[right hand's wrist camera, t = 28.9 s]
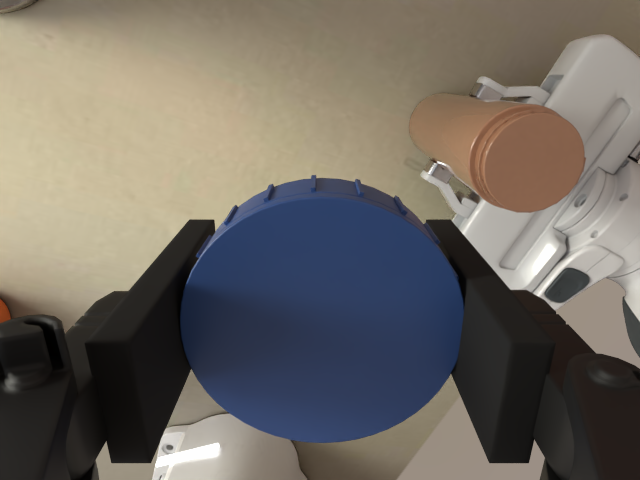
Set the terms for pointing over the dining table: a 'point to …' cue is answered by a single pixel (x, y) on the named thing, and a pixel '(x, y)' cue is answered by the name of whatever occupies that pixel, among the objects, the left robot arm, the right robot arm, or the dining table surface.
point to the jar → (501, 148)
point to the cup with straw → (4, 312)
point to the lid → (322, 312)
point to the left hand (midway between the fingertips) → (450, 128)
